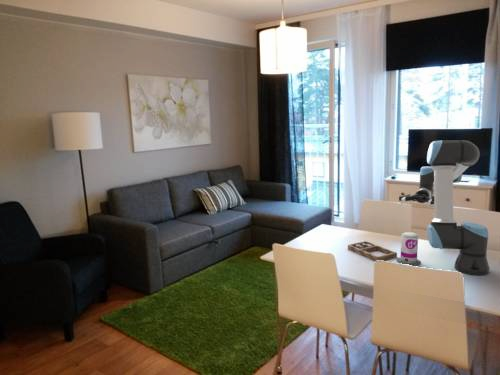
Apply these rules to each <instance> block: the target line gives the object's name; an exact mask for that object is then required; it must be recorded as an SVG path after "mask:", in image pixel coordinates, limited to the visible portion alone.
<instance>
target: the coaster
mask: <svg viewBox="0 0 500 375" xmlns="http://www.w3.org/2000/svg"><path fill="white" fill-rule="evenodd" d="M400 258H401V256H400V257H396V262H397V263H398V264H400V263H402V264H409V265H415V266H414V267H416V266H419V265H421V264H422V261H421V260H420V259H418V258H417V261H416V262H415V263H405V262H403V261H402V260H401V259H400ZM402 264H401V265H402Z"/></svg>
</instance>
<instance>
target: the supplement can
mask: <svg viewBox="0 0 500 375" xmlns="http://www.w3.org/2000/svg"><path fill="white" fill-rule="evenodd" d="M400 238H401V239H400V240H401V241H400V257H401V258H400V257H399V258H400V259H401V260H402V261H403V262H405V263H415V262H416V261H417V259H418V249H419V248H418V246H419V245H418V244H419V236H418V234H417V233H416V232H412V231H403V232H402V234H401V237H400Z"/></svg>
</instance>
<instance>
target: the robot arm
mask: <svg viewBox="0 0 500 375" xmlns="http://www.w3.org/2000/svg"><path fill="white" fill-rule="evenodd" d="M480 155H481V154H480V149H479V147H478V146H477V145H475V144H474V143H473V142H471V141H470V140H464V139H461V140H455V139H454V140H446V139H445V140H434V141H432V142H430V144H429V147H428V150H427V154H426V162H427V164H428V165H430V166H421V168H420V171H419V185H418V186H419V189H418V190H417V191H416V192H415V194H411V193H409V194H406V195H399V197H398V201H399V202H400V205H403V204H405V202H411V201H412V202H417V203H419V204H424V203H425V204H426V203H427V207H428V208H429V207H431V205H433V208H434V209H433V212H434V213H433V218H432V219H431V221H430V224H428V225H427V227H426V237H427V240H428V243H429V245H430V247H431V248H433V249H440V250H442V249H443V250H444V249H445V250H459V254H458V256H457V258H456V260H455V261H454V269H455V270H456V271H458V272H461V273H463V274H466V275H471V276H486V275H489V273H490V265H489V262H488V258H487V253H488V252H487V250H488V240H489V229H488V228H487V227H486V226H484V225H482V224H480V223H476V222H475V223H474V222H469V221H464V222H461V223H460V225H457V224H458V223H457V221H456V220H455V219H454V184H456V183H457V184H459V183H460V182H462V179H463V178H462V177H463V175H462V174H463V173H464V172H465V171H466V170H467V169H468V168H469V167H472V166H474V165H475V164H476V163H477V162H478V161H479V158H480Z"/></svg>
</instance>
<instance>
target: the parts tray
mask: <svg viewBox="0 0 500 375" xmlns="http://www.w3.org/2000/svg"><path fill="white" fill-rule="evenodd" d="M347 250H349V251H352V252H353V253H356V254H359V255H361V256H363V257H366V258H368V259H370V260H372V261H375V262H377V261H376V260H383V261H386V260H391V259H395V258H398V253H397V252H396V251H393V250H391V249H388V248H385V247H383V246H381V245H378V244H376V243H372V242H370V241H368V240H363V241H360V242H355V243H350V244H347ZM373 251H378V252H381V253H383V255H378V256H377V255H375V254H373V253H370V252H373Z"/></svg>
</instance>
